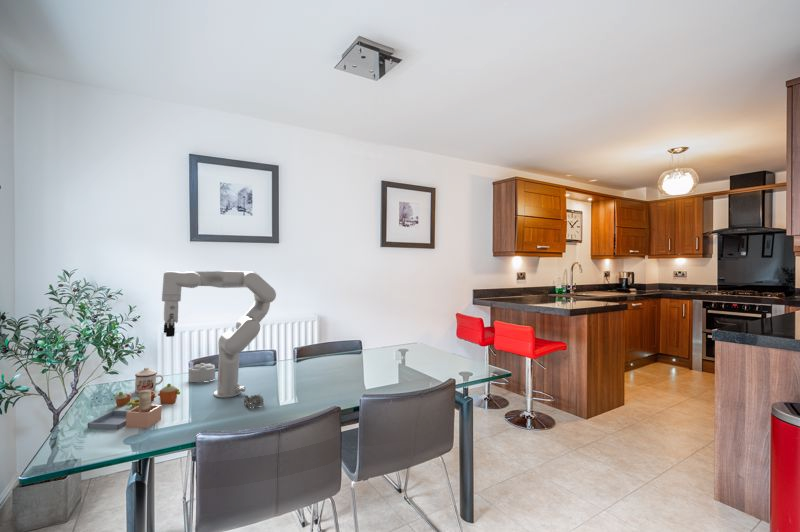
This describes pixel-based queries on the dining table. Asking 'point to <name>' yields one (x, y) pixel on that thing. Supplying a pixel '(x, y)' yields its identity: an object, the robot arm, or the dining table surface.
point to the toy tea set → (166, 397)
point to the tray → (110, 420)
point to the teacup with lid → (146, 380)
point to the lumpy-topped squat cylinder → (201, 372)
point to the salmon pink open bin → (143, 417)
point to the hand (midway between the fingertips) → (168, 334)
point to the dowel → (144, 401)
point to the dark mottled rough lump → (253, 400)
